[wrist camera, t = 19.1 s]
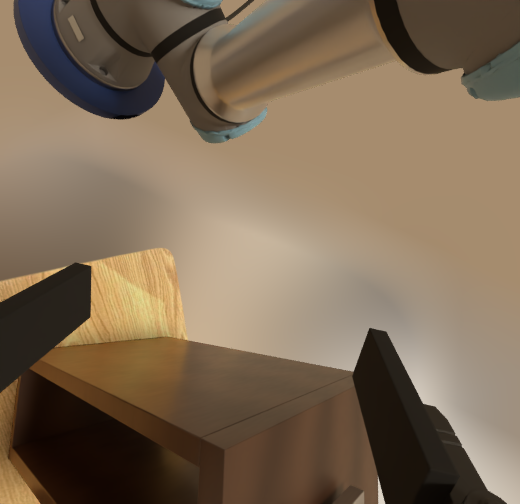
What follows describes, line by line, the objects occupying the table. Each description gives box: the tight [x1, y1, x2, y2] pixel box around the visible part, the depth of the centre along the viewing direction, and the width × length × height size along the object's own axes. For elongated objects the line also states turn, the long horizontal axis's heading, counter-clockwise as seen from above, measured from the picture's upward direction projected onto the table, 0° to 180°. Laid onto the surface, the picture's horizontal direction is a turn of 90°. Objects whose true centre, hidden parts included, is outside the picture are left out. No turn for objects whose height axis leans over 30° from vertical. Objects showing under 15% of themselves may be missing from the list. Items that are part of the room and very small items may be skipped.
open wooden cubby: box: [8, 337, 378, 504], centre depth 36 cm, size 22×13×38 cm, turn 88°
